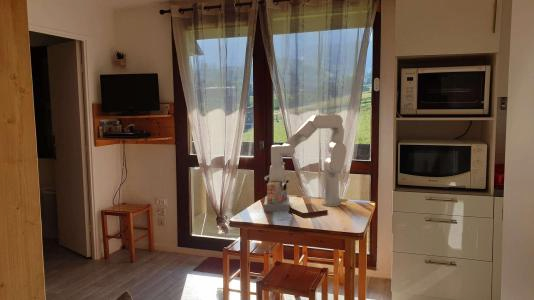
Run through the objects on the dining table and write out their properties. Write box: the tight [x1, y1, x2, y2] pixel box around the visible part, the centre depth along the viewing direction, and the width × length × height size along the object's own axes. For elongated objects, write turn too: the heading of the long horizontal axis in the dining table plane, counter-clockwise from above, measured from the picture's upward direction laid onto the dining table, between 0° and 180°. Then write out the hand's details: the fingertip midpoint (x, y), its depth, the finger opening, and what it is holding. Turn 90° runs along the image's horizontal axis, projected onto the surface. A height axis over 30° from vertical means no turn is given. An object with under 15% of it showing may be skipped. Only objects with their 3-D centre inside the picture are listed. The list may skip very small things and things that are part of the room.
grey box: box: [263, 195, 291, 213], centre depth 280 cm, size 16×26×5 cm, turn 178°
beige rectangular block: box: [266, 181, 288, 204], centre depth 280 cm, size 21×6×12 cm, turn 158°
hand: (277, 189), depth 279 cm, fingers open, 9 cm apart
